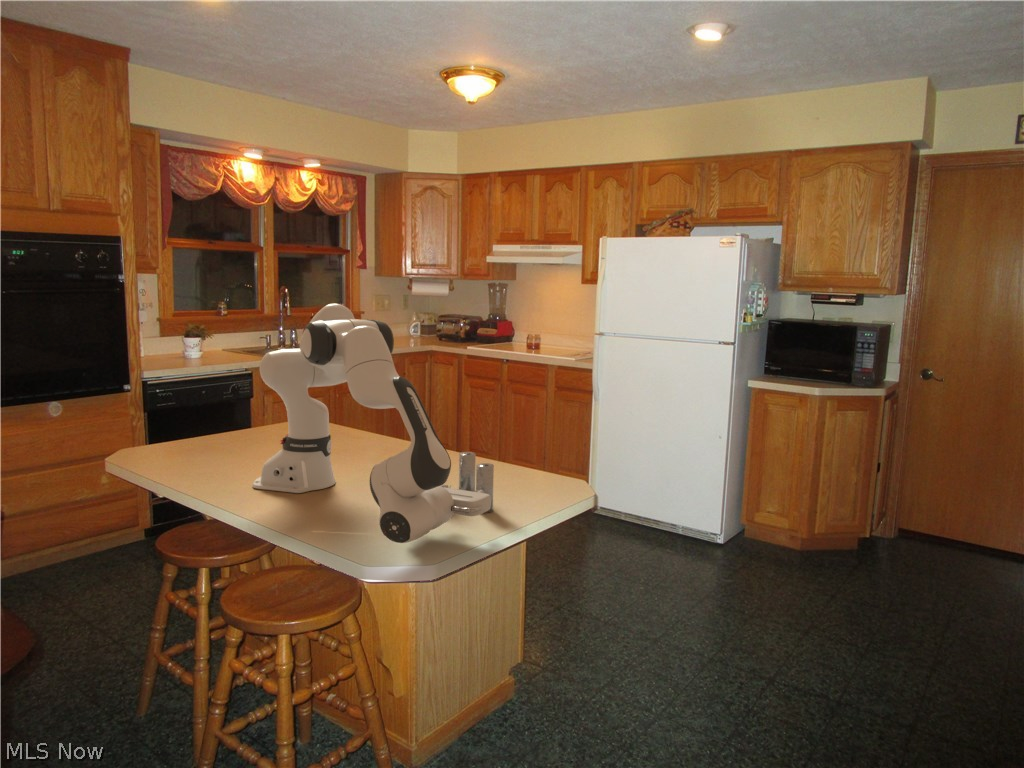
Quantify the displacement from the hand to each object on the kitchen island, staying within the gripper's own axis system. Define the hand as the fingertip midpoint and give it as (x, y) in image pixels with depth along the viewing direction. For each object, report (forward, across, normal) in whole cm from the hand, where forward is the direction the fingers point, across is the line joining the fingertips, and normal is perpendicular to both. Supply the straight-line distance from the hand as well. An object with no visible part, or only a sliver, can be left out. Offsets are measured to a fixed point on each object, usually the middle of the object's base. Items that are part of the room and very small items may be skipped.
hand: (463, 490), depth 171 cm
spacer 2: (+12, 0, +9) cm, 15 cm away
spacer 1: (+21, +10, +8) cm, 24 cm away
